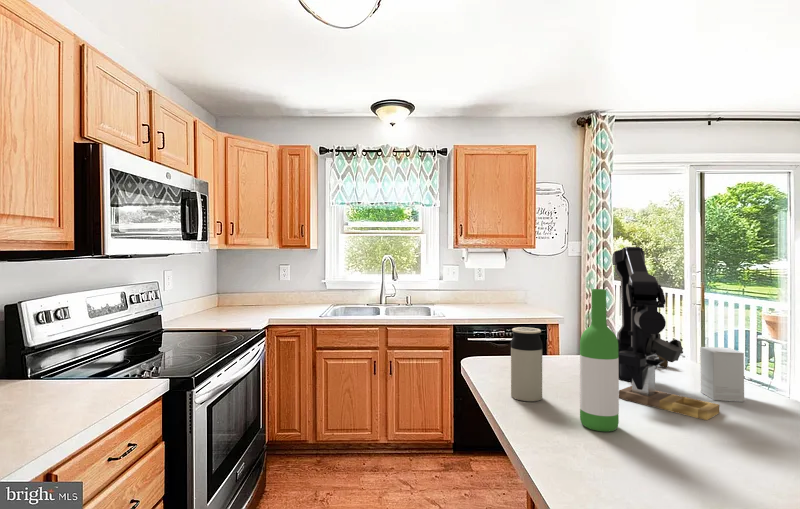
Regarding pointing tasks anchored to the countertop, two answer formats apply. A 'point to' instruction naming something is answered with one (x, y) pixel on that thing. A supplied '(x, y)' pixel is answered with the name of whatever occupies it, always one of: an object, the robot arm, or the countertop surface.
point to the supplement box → (722, 373)
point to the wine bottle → (599, 370)
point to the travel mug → (526, 364)
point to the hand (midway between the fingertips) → (643, 387)
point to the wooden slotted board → (673, 403)
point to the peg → (646, 383)
